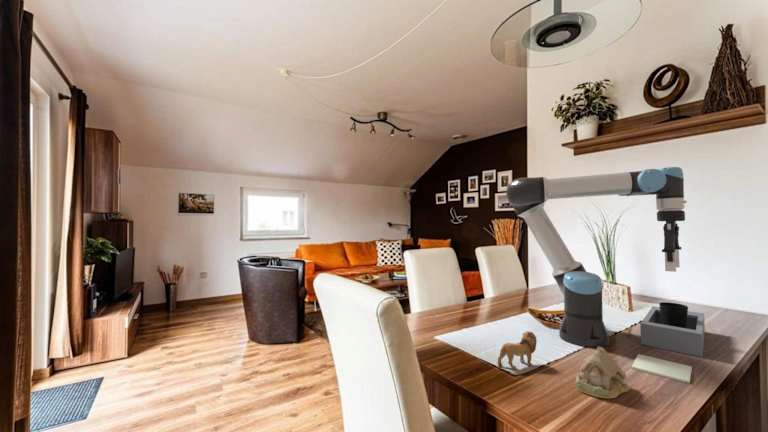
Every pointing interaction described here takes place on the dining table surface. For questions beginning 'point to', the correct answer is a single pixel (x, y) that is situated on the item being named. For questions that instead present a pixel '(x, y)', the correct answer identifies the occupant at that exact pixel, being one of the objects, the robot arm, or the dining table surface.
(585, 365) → the ceramic model
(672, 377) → the mat
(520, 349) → the lion figurine
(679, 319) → the cup
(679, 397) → the dining table surface
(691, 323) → the slot box
